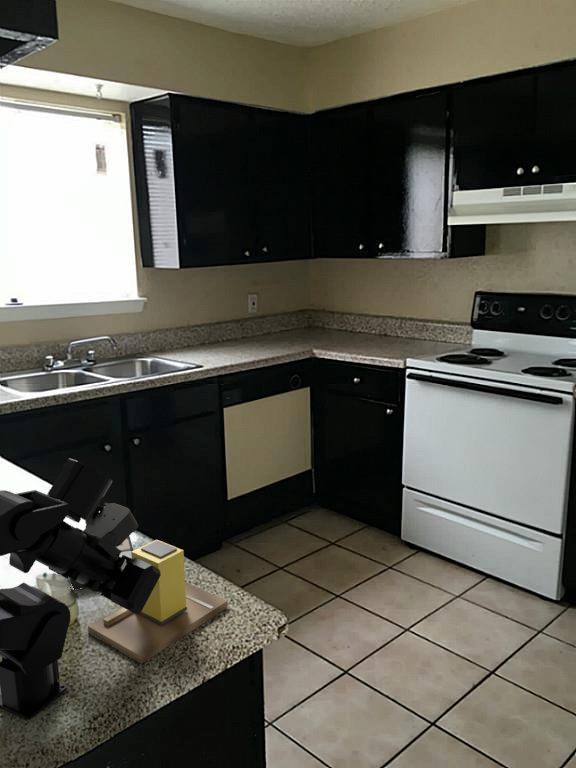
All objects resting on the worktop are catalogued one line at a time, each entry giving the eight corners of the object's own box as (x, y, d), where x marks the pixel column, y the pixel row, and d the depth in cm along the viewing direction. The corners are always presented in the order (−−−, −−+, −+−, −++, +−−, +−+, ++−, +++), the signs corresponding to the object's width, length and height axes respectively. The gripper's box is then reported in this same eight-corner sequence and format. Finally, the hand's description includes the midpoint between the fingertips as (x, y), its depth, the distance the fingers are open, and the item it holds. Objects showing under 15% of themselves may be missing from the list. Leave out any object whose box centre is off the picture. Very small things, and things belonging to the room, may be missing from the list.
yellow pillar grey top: (161, 625, 97) (157, 561, 95) (134, 611, 101) (130, 549, 99) (187, 609, 101) (184, 548, 99) (160, 596, 105) (156, 537, 103)
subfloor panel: (141, 663, 91) (140, 650, 91) (88, 632, 98) (87, 620, 98) (227, 607, 105) (227, 596, 104) (175, 584, 112) (174, 573, 111)
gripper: (144, 511, 83) (209, 557, 94) (58, 479, 95) (125, 523, 106) (97, 594, 79) (171, 632, 90) (13, 551, 90) (88, 589, 101)
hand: (138, 589), depth 97 cm, fingers closed
